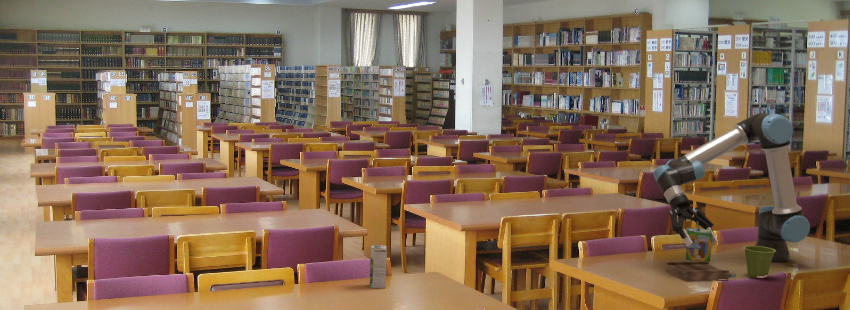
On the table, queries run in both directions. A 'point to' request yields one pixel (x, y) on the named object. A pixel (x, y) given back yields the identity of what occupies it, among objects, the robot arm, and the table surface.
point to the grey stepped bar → (732, 274)
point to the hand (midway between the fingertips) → (702, 243)
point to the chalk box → (699, 245)
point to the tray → (696, 271)
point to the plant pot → (758, 260)
